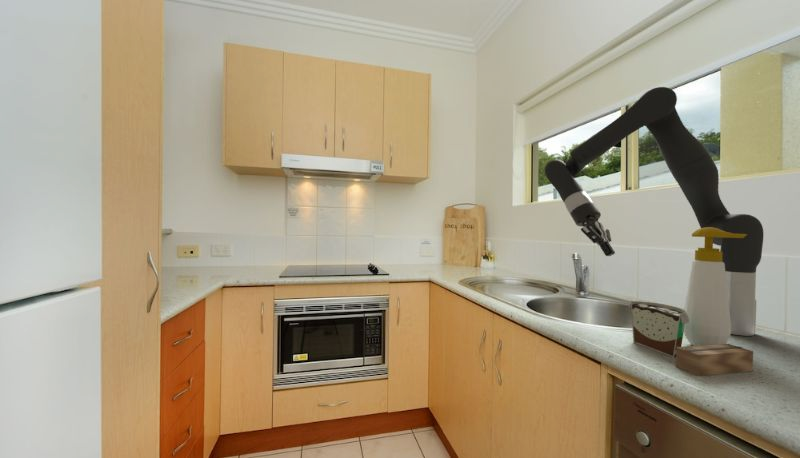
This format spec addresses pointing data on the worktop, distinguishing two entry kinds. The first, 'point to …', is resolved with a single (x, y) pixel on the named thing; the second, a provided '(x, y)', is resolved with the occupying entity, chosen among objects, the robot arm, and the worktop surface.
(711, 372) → the timber batten
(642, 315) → the food container
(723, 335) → the soap bottle
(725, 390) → the worktop surface
